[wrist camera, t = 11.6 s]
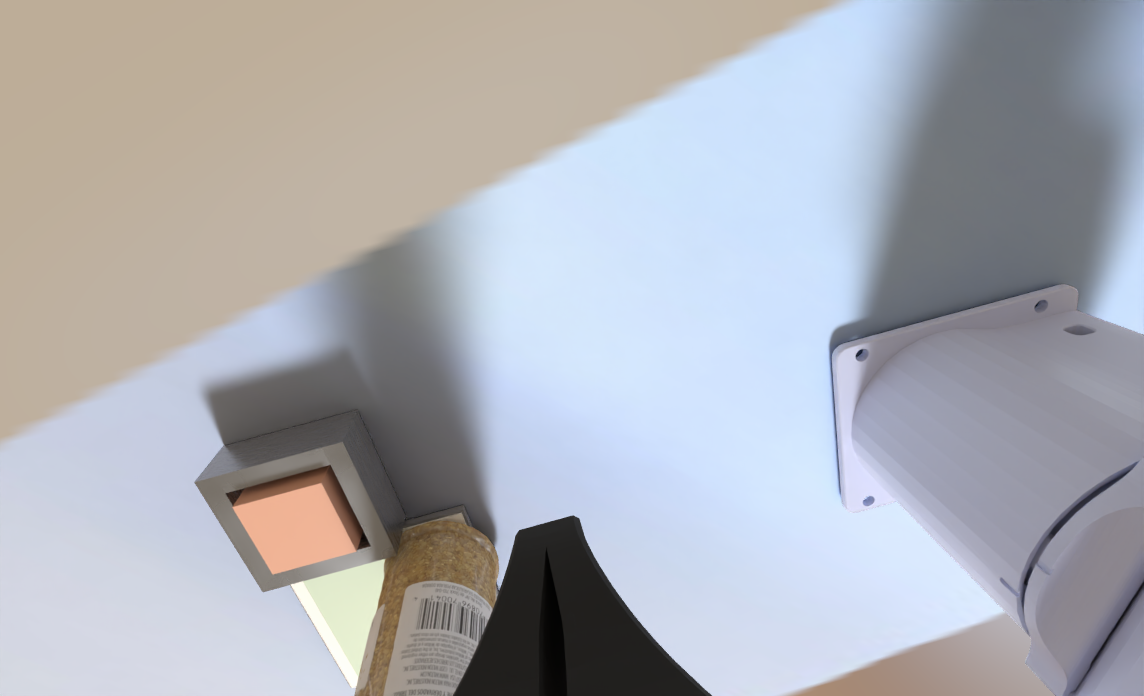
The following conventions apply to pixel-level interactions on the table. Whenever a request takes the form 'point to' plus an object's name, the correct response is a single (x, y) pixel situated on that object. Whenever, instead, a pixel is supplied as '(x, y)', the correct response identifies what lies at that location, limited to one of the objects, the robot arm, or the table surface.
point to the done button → (299, 519)
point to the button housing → (299, 452)
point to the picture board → (354, 602)
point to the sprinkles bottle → (430, 611)
